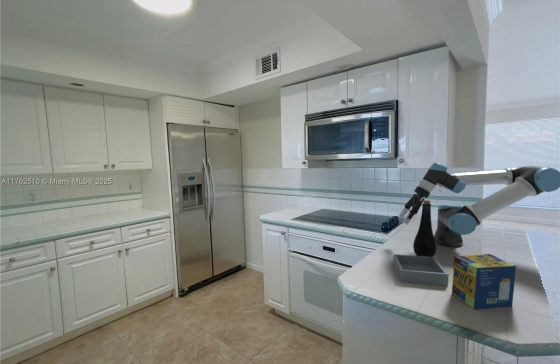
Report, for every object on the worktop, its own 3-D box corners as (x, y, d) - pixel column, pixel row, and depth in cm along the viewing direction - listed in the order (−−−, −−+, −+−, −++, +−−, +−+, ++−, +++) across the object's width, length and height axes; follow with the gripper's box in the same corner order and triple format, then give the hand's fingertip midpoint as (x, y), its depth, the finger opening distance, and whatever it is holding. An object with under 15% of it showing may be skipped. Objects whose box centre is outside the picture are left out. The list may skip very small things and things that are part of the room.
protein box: (450, 293, 101) (453, 255, 99) (487, 291, 102) (490, 253, 100) (473, 310, 90) (476, 267, 89) (513, 306, 92) (517, 265, 90)
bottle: (433, 254, 138) (436, 199, 135) (438, 262, 128) (441, 203, 125) (411, 252, 142) (413, 198, 138) (414, 260, 132) (417, 202, 128)
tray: (433, 267, 124) (434, 257, 123) (447, 286, 106) (448, 274, 106) (393, 263, 128) (393, 254, 127) (400, 281, 111) (400, 270, 110)
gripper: (412, 183, 156) (393, 212, 160) (424, 187, 132) (400, 221, 136) (424, 190, 155) (404, 219, 159) (438, 195, 131) (413, 229, 135)
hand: (402, 220), depth 148 cm, fingers open, 13 cm apart
